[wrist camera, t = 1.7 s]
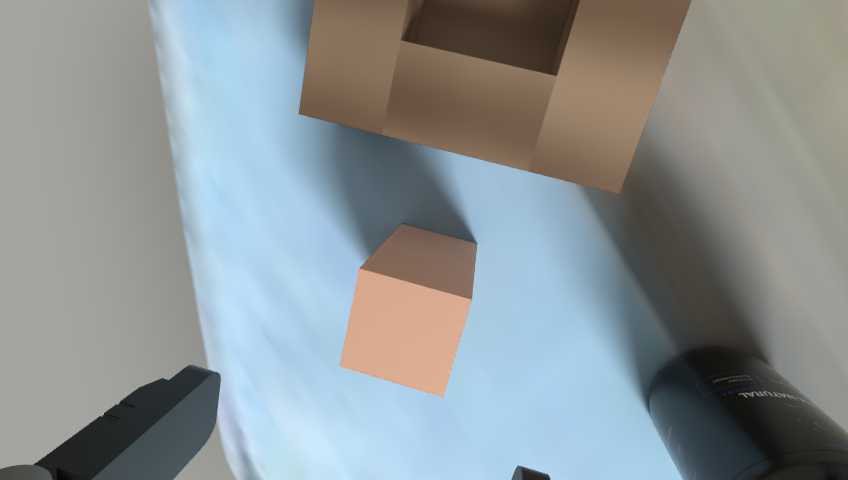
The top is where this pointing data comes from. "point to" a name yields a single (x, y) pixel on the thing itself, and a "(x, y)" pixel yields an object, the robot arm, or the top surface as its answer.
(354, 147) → the top surface
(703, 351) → the supplement bottle
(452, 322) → the terracotta peg
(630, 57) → the walnut base
